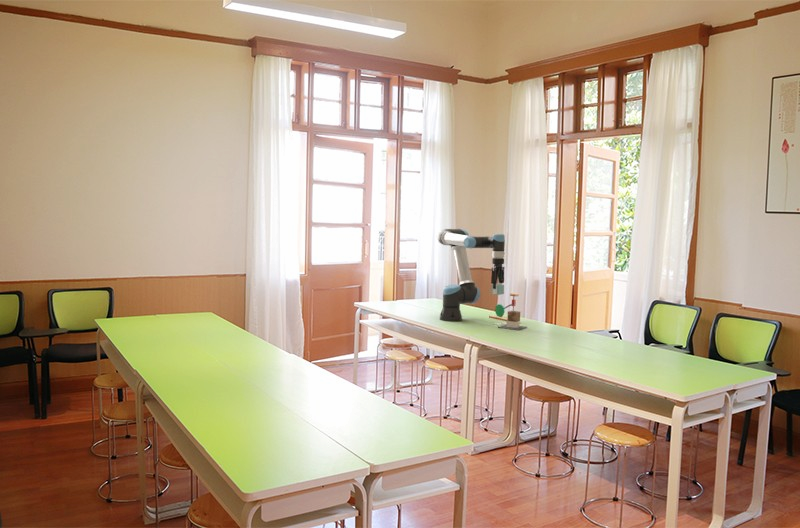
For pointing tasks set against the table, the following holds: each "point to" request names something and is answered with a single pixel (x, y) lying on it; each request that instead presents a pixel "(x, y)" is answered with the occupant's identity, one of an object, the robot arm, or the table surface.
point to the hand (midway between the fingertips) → (497, 293)
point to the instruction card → (500, 324)
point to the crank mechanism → (500, 309)
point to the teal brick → (498, 289)
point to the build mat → (513, 325)
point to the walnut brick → (513, 316)
